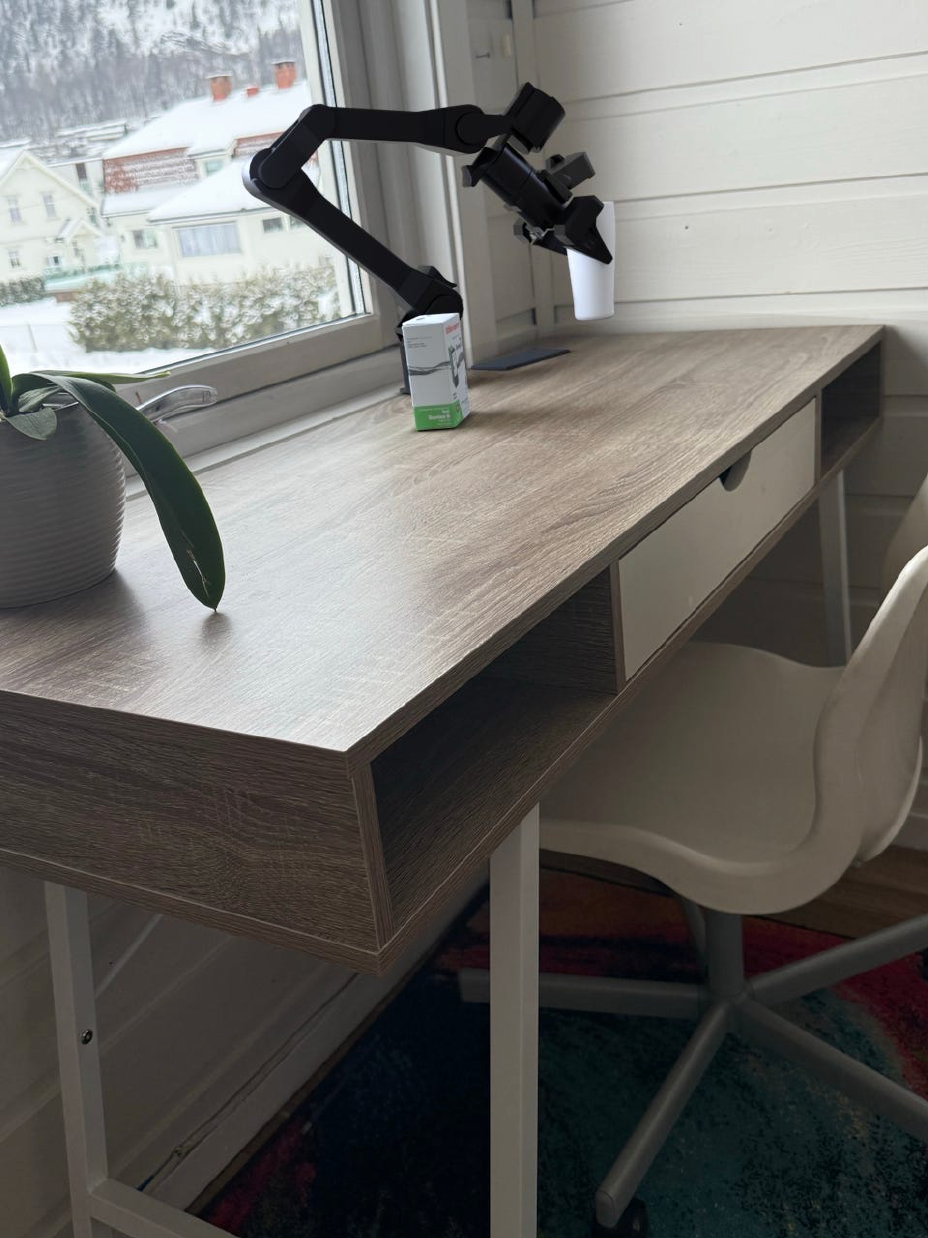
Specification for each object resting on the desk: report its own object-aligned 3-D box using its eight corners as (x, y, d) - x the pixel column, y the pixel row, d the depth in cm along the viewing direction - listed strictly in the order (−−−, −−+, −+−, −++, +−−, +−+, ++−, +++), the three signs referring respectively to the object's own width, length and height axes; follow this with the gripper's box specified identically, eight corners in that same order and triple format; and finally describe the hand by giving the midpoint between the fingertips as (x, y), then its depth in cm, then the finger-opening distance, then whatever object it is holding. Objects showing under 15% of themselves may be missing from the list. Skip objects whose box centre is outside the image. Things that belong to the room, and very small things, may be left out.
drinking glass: (577, 322, 154) (571, 204, 149) (564, 320, 160) (557, 206, 155) (626, 317, 155) (621, 199, 150) (610, 315, 161) (605, 202, 156)
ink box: (456, 428, 128) (443, 320, 124) (413, 431, 129) (399, 324, 125) (472, 412, 136) (460, 310, 131) (431, 415, 137) (418, 314, 133)
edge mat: (506, 369, 162) (506, 367, 162) (471, 368, 167) (470, 365, 167) (569, 351, 171) (569, 349, 171) (534, 351, 176) (533, 348, 176)
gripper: (584, 125, 140) (668, 210, 147) (526, 136, 156) (605, 212, 163) (530, 200, 140) (616, 282, 147) (478, 203, 157) (558, 277, 164)
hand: (599, 260), depth 155 cm, fingers closed on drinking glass, 6 cm apart
